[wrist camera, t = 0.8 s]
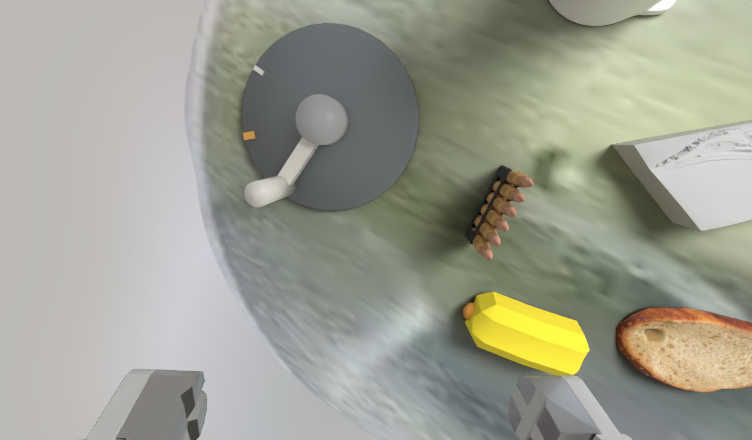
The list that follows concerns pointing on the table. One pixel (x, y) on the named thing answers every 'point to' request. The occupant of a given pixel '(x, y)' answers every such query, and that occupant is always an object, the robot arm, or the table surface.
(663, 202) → the ramp
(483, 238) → the ammunition clip
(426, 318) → the table surface
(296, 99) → the dial plate
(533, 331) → the yellow faceted oblong piece
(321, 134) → the dial lever
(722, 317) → the bread slice
